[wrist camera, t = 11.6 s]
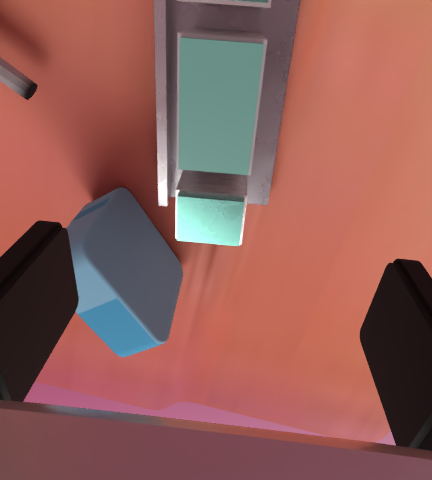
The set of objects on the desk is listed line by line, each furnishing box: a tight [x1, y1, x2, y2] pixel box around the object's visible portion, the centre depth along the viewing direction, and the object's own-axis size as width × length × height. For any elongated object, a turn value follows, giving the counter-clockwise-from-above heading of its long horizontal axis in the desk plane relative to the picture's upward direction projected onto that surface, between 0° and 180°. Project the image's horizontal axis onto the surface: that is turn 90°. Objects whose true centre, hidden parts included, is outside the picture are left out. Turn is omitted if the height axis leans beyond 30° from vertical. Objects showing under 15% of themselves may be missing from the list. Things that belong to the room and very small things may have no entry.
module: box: [177, 28, 267, 175], centre depth 25 cm, size 5×8×8 cm, turn 176°
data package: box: [66, 187, 183, 357], centre depth 34 cm, size 12×4×12 cm, turn 28°
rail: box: [154, 0, 300, 246], centre depth 26 cm, size 10×20×11 cm, turn 176°
